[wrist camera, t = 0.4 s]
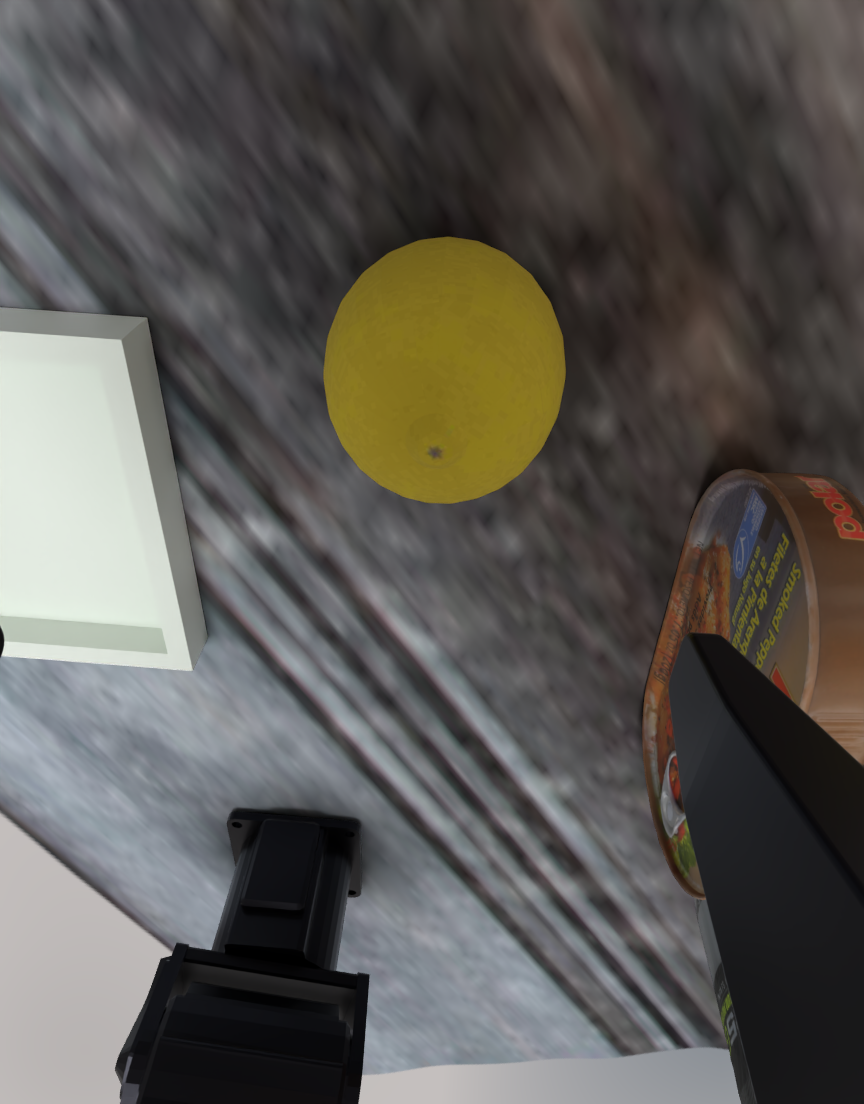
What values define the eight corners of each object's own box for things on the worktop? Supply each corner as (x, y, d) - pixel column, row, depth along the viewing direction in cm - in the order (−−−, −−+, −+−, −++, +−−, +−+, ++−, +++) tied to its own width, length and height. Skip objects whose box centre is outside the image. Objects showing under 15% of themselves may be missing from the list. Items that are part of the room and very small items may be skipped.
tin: (717, 417, 21) (826, 600, 14) (824, 421, 21) (985, 607, 14) (628, 741, 30) (669, 947, 23) (703, 745, 30) (766, 953, 23)
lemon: (314, 324, 20) (235, 462, 14) (440, 154, 17) (414, 229, 11) (460, 439, 22) (451, 609, 16) (594, 303, 19) (648, 440, 13)
